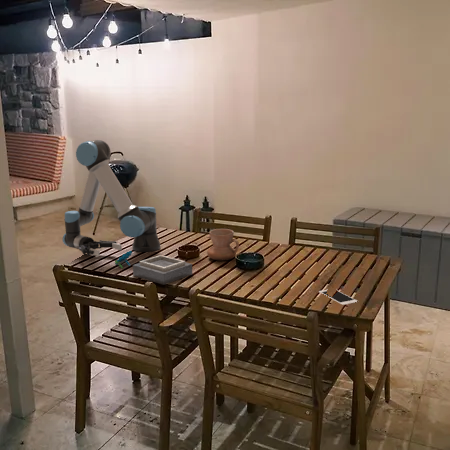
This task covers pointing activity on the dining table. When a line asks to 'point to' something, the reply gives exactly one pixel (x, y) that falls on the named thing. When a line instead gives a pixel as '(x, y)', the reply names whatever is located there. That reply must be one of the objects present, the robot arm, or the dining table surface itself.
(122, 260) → the gear
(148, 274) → the grey open tray
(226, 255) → the ceramic jug
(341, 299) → the cell phone
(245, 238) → the dining table surface
